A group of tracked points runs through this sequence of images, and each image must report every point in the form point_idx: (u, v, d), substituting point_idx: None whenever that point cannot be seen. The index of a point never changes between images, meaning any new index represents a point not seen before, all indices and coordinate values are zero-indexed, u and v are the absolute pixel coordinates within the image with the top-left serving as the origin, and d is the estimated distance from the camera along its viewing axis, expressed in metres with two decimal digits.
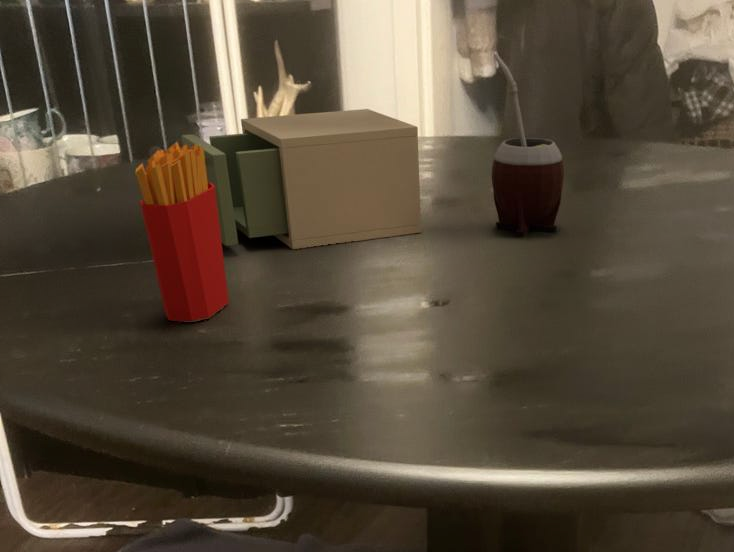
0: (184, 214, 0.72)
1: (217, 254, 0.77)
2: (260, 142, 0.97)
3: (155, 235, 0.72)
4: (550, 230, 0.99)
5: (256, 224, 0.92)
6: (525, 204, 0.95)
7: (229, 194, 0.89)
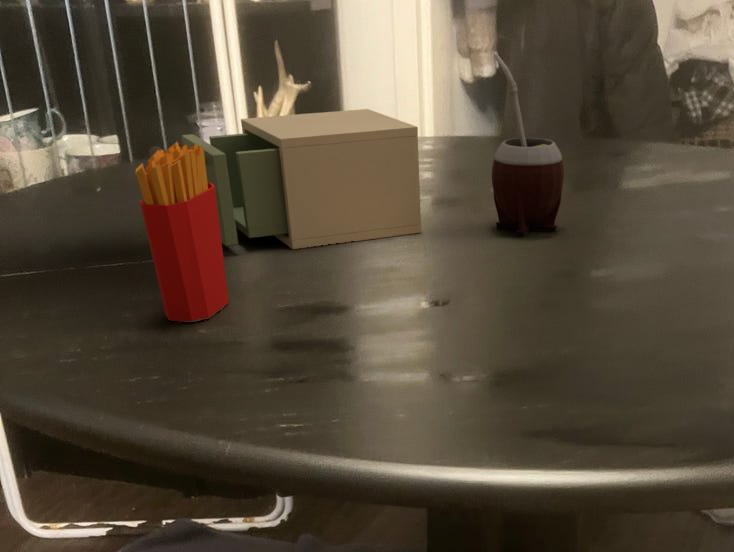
0: (184, 214, 0.72)
1: (217, 254, 0.77)
2: (260, 142, 0.97)
3: (155, 235, 0.72)
4: (550, 230, 0.99)
5: (256, 224, 0.92)
6: (525, 204, 0.95)
7: (229, 194, 0.89)
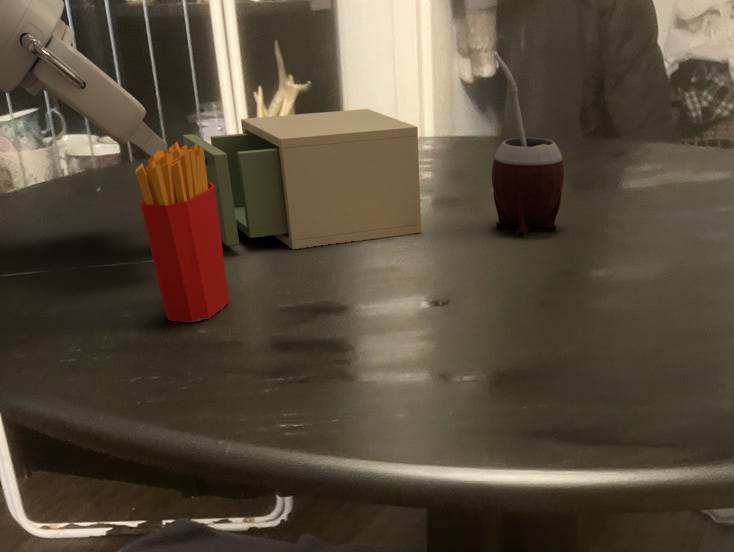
0: (184, 214, 0.72)
1: (217, 254, 0.77)
2: (261, 142, 0.97)
3: (155, 235, 0.72)
4: (550, 230, 0.99)
5: (257, 224, 0.92)
6: (525, 204, 0.95)
7: (230, 194, 0.89)
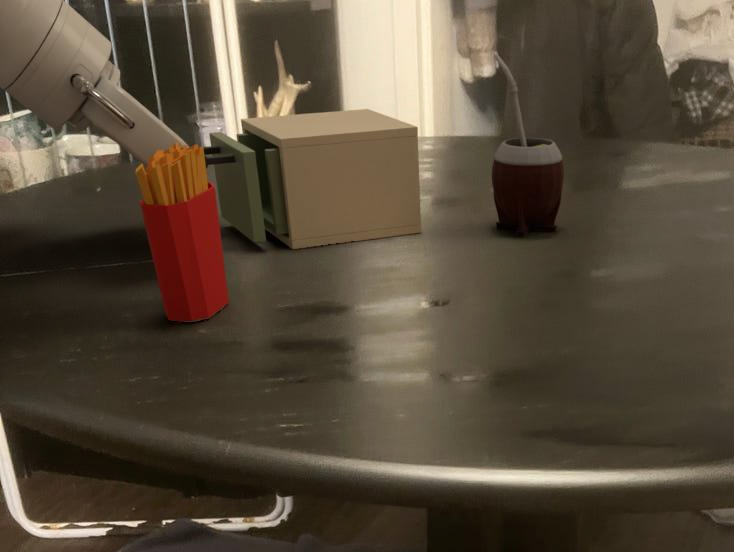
0: (184, 214, 0.72)
1: (217, 254, 0.77)
2: None
3: (155, 235, 0.72)
4: (550, 230, 0.99)
5: (284, 221, 0.93)
6: (525, 204, 0.95)
7: (258, 191, 0.90)
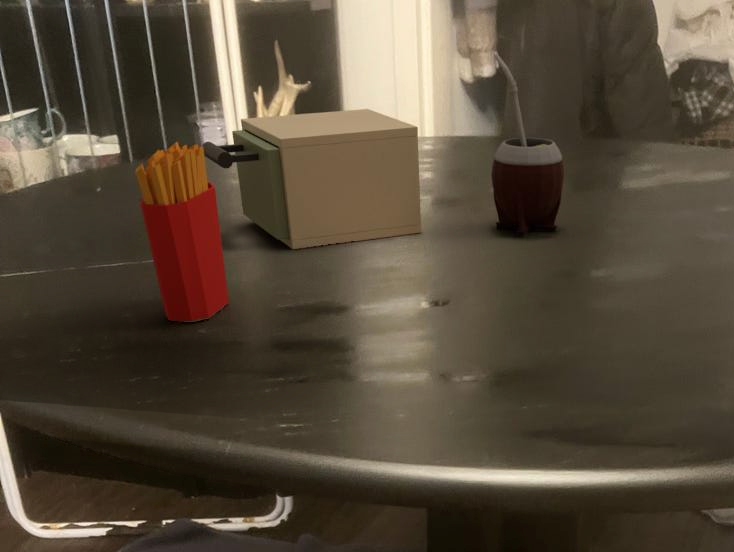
0: (184, 214, 0.72)
1: (217, 254, 0.77)
2: None
3: (155, 235, 0.72)
4: (550, 230, 0.99)
5: None
6: (525, 204, 0.95)
7: (282, 188, 0.91)
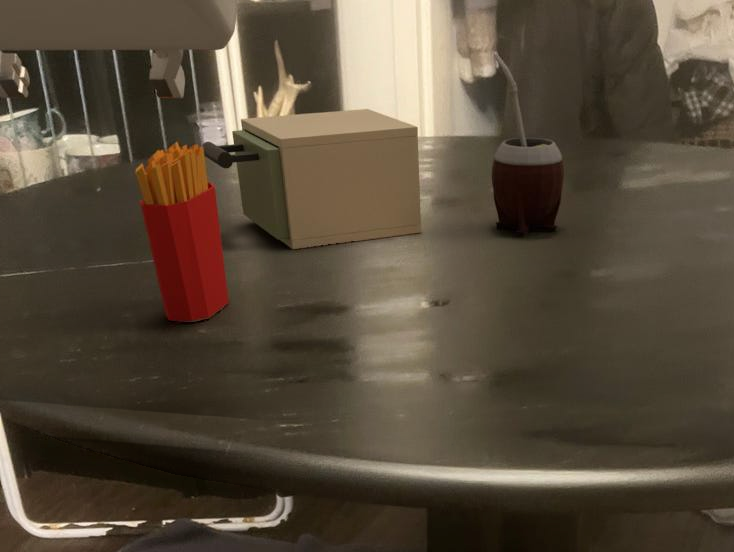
0: (184, 214, 0.72)
1: (217, 254, 0.77)
2: None
3: (155, 235, 0.72)
4: (550, 230, 0.99)
5: None
6: (525, 204, 0.95)
7: (282, 188, 0.91)
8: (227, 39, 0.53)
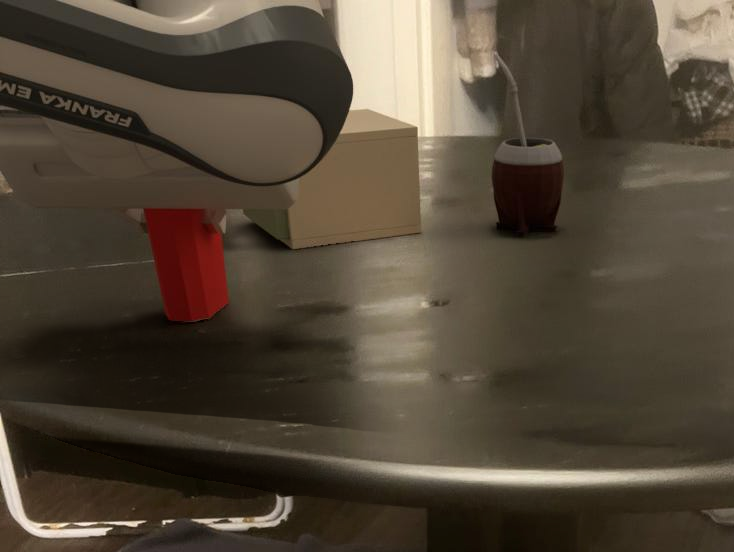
0: (186, 214, 0.72)
1: (218, 254, 0.77)
2: None
3: (156, 235, 0.72)
4: (550, 230, 0.99)
5: None
6: (525, 204, 0.95)
7: None
8: (292, 203, 0.69)
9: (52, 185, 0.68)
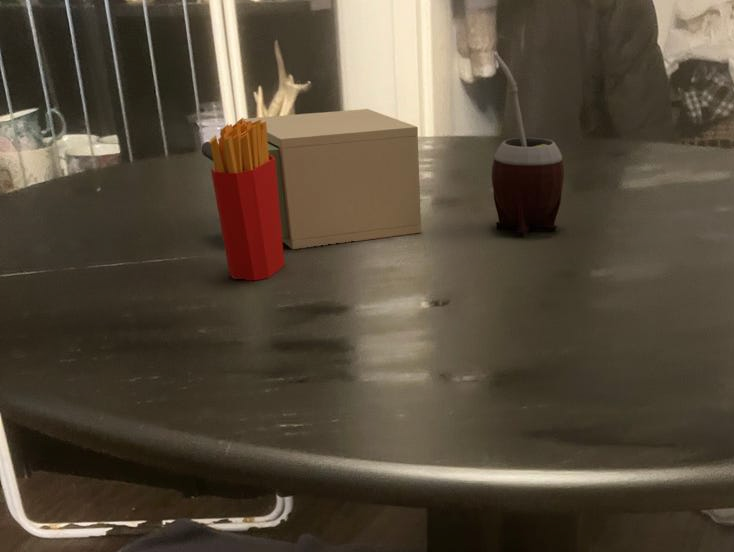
0: (250, 181, 0.81)
1: (276, 219, 0.86)
2: None
3: (224, 200, 0.81)
4: (550, 230, 0.99)
5: None
6: (525, 204, 0.95)
7: (282, 188, 0.91)
8: None
9: None
